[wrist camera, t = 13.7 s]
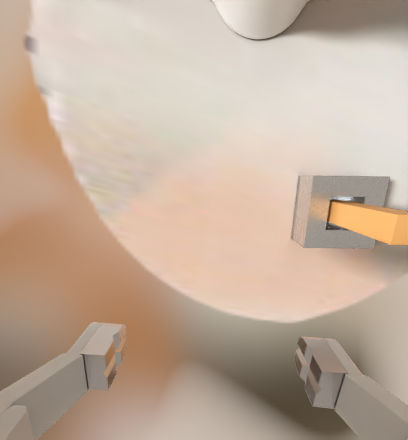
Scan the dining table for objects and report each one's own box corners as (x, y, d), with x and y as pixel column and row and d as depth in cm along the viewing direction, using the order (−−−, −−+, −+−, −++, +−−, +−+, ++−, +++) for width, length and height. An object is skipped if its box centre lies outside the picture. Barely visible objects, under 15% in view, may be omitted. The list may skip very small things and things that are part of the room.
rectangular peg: (321, 199, 34) (397, 214, 21) (340, 199, 34) (429, 215, 21) (318, 218, 35) (390, 244, 22) (337, 218, 35) (421, 245, 22)
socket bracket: (298, 176, 34) (313, 175, 30) (364, 176, 34) (390, 176, 30) (291, 238, 37) (303, 247, 32) (352, 239, 37) (373, 248, 32)
